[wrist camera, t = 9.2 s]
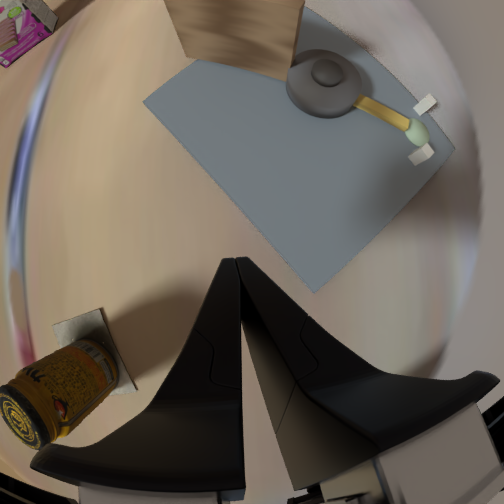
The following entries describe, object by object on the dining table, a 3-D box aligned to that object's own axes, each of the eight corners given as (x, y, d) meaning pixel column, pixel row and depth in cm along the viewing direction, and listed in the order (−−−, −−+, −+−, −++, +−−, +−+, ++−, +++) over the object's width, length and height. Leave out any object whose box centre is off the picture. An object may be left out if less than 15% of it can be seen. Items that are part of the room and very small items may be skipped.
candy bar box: (5, 70, 22) (-53, 33, 6) (12, 51, 22) (-40, 13, 6) (54, 34, 22) (-2, -21, 5) (59, 16, 22) (11, -36, 5)
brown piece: (407, 104, 20) (458, 55, 11) (397, 156, 20) (458, 115, 11) (203, 32, 20) (185, -33, 11) (174, 76, 20) (140, 11, 11)
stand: (450, 151, 21) (469, 142, 18) (311, 291, 22) (320, 299, 18) (300, 8, 21) (303, -11, 18) (145, 105, 22) (132, 89, 18)
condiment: (86, 398, 22) (20, 455, 10) (52, 325, 22) (-31, 357, 10) (137, 390, 22) (73, 466, 10) (101, 308, 22) (6, 345, 10)
